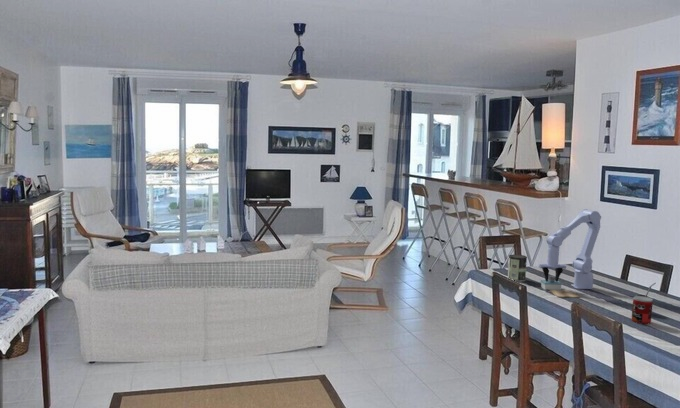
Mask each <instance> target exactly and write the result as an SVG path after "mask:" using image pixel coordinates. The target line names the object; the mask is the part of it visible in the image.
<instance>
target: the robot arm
mask: <svg viewBox="0 0 680 408" xmlns="http://www.w3.org/2000/svg"><path fill="white" fill-rule="evenodd" d="M601 219H602V216H601V214H600V212H598V211H596V210H592V209H587V208H585V209H582V210H581V211H580V212H578V214H577V216H576V217H575V218H574V219H572V221H570V223H569V224H568V225H566V226H560V227H559V230H557V231H556V232H554V233H553V234H551V235H549V236H548V237H547V239H546V243H547V262H546V263H539V264H538V268H539V269H542V272H543V275H544V280H546V281H548V280H549V274H550V269H554V270H555V271H554V272H555V275H554V277H555V281H556V282H558V281H559V279H560V276H561V275H562V273H563V272H564V270H567V265H566V264H559V258H560V257H559V256H560V246H562V245H563V242H564V240H566V239H567V238H568V237H569V236H570V235H571V234H572V231H573V230H575V229H576V228H577V227H579V226H580V225H581V224H583V223H585V224H586V225H587V227H588V229H587V232H586V235H585V238H584V241H583V245H582V247H581V250H580V253H579V254H577V255H576V257H575V259H574V260H573V261H572V267H573V270H574V274H573V275H574V278H573V283H572V284H570V285H571V286H572V287H573V288H574V289H577V290H581V289H582V290H593V289H594V288H593V285H594V274H593V272H591V271H592V269H593V259H592V257H591V256H592V253H593V251H594V247H595V245H596V242H597V238H598V236H599V232H600V228H601Z"/></svg>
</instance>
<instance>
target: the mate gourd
mask: <svg viewBox="0 0 680 408" xmlns="http://www.w3.org/2000/svg"><path fill="white" fill-rule="evenodd" d="M656 283H657V282H654V283H652V284H651V285H650V286H649V288H648V290H647V292H646V294H636V295H635V296H643V297H648V298H650V297H649V296H648V294H649V292H650V290H652V287H653V286H654V285H656Z"/></svg>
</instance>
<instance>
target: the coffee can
mask: <svg viewBox="0 0 680 408" xmlns="http://www.w3.org/2000/svg"><path fill="white" fill-rule="evenodd" d="M527 260H528V256H526V255H525V254H524V255H523V254H509V255H508V267H507V269H508V271H507V279H508V278H510V279H513V280H515V281H514V282H519V283H520V282H521V283H523V282H526V277H527V275H526V273H527Z"/></svg>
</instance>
